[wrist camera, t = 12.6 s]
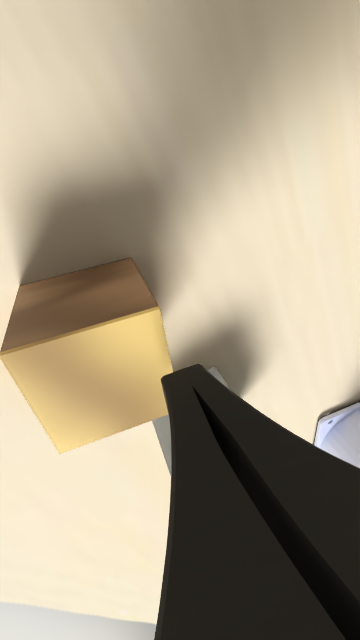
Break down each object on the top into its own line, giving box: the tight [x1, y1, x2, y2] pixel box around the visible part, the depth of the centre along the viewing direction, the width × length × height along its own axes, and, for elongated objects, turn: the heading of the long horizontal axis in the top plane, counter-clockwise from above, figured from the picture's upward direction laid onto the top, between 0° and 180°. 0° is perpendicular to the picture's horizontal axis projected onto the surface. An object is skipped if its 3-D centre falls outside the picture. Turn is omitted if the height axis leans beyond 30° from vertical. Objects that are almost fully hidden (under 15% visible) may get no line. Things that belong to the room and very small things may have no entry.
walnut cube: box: [0, 258, 173, 454], centre depth 13 cm, size 5×5×5 cm
